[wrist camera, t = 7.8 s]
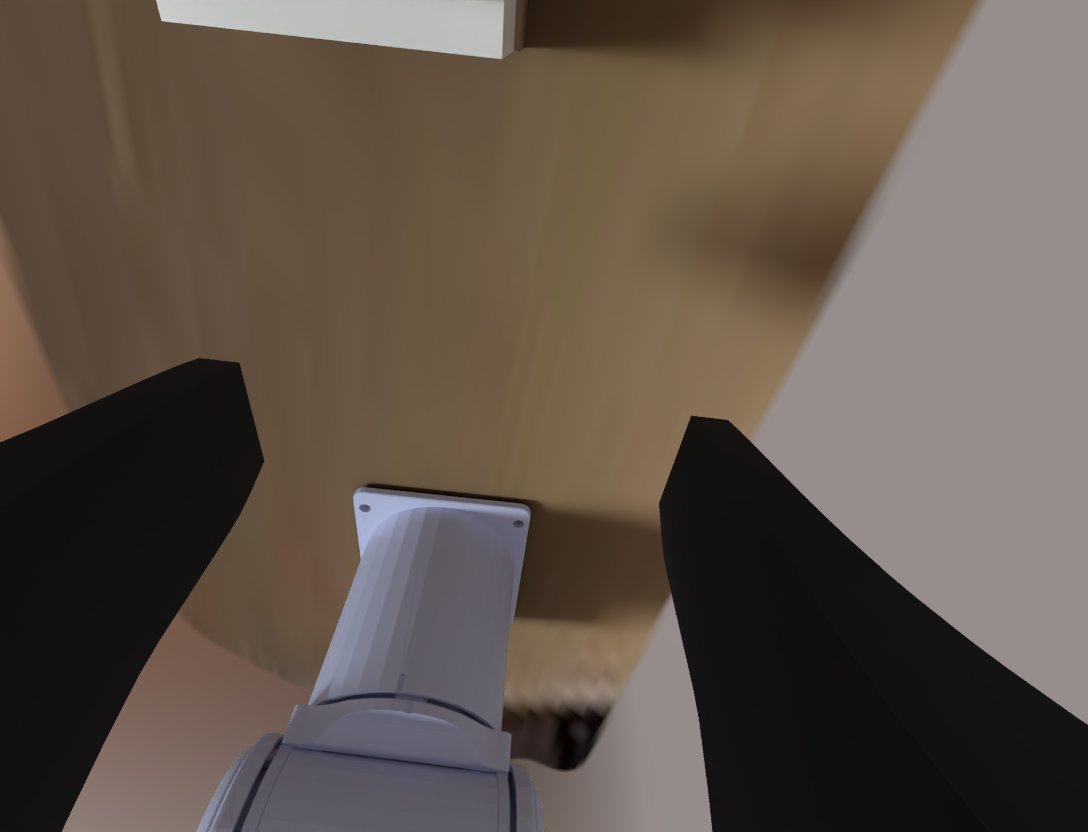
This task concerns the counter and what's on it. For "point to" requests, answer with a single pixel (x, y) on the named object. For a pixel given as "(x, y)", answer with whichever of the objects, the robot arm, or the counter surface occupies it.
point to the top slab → (365, 21)
